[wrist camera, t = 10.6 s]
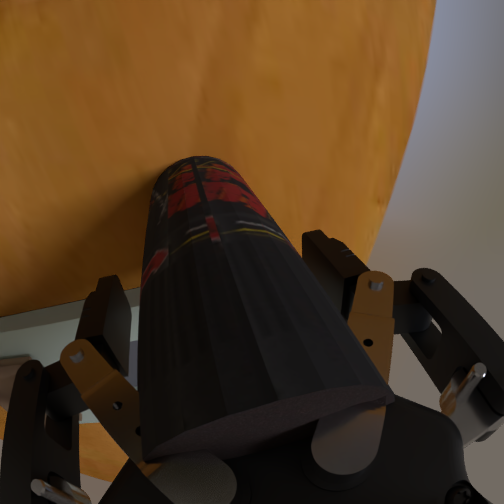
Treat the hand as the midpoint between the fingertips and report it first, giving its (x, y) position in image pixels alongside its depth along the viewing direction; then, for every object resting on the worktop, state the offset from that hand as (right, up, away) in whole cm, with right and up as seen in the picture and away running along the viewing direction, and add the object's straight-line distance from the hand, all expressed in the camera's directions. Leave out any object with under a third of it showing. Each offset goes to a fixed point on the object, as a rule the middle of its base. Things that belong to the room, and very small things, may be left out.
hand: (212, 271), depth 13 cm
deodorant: (-2, +4, +6) cm, 7 cm away
